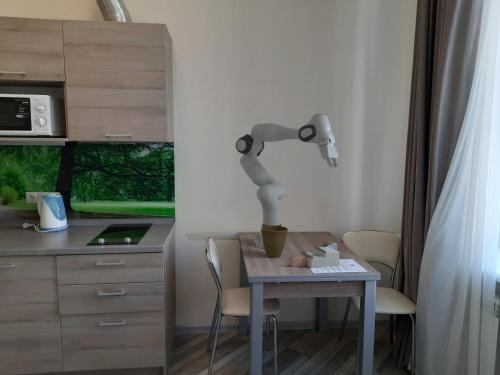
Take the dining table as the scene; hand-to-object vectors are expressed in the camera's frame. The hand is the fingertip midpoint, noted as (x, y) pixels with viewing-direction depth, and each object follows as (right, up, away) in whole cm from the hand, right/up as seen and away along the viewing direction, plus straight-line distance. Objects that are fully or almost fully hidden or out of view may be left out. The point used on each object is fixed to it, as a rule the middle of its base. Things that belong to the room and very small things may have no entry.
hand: (333, 167), depth 181 cm
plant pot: (-32, -50, +7) cm, 59 cm away
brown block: (-18, -51, -9) cm, 55 cm away
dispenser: (-9, -51, -6) cm, 52 cm away
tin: (0, -50, +8) cm, 50 cm away
